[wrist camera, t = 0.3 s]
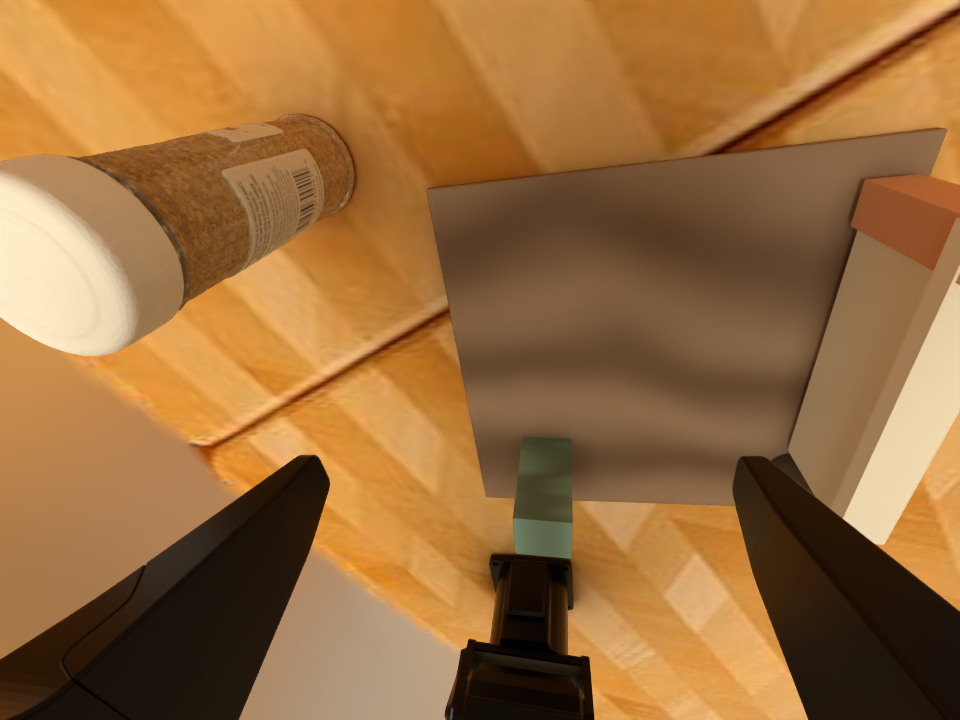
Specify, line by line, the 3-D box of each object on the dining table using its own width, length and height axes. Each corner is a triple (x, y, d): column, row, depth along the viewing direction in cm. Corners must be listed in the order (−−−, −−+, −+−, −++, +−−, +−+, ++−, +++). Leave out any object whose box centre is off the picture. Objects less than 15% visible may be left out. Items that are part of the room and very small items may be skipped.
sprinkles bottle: (279, 91, 19) (-107, 119, 8) (372, 150, 20) (133, 249, 9) (257, 184, 22) (-63, 302, 11) (340, 234, 22) (122, 393, 11)
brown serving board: (800, 503, 27) (888, 663, 20) (487, 492, 32) (463, 622, 24) (939, 127, 16) (1252, 175, 9) (428, 188, 20) (351, 254, 13)
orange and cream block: (820, 450, 24) (889, 552, 19) (779, 450, 24) (836, 550, 19) (923, 173, 16) (1084, 219, 11) (861, 180, 17) (991, 226, 12)
